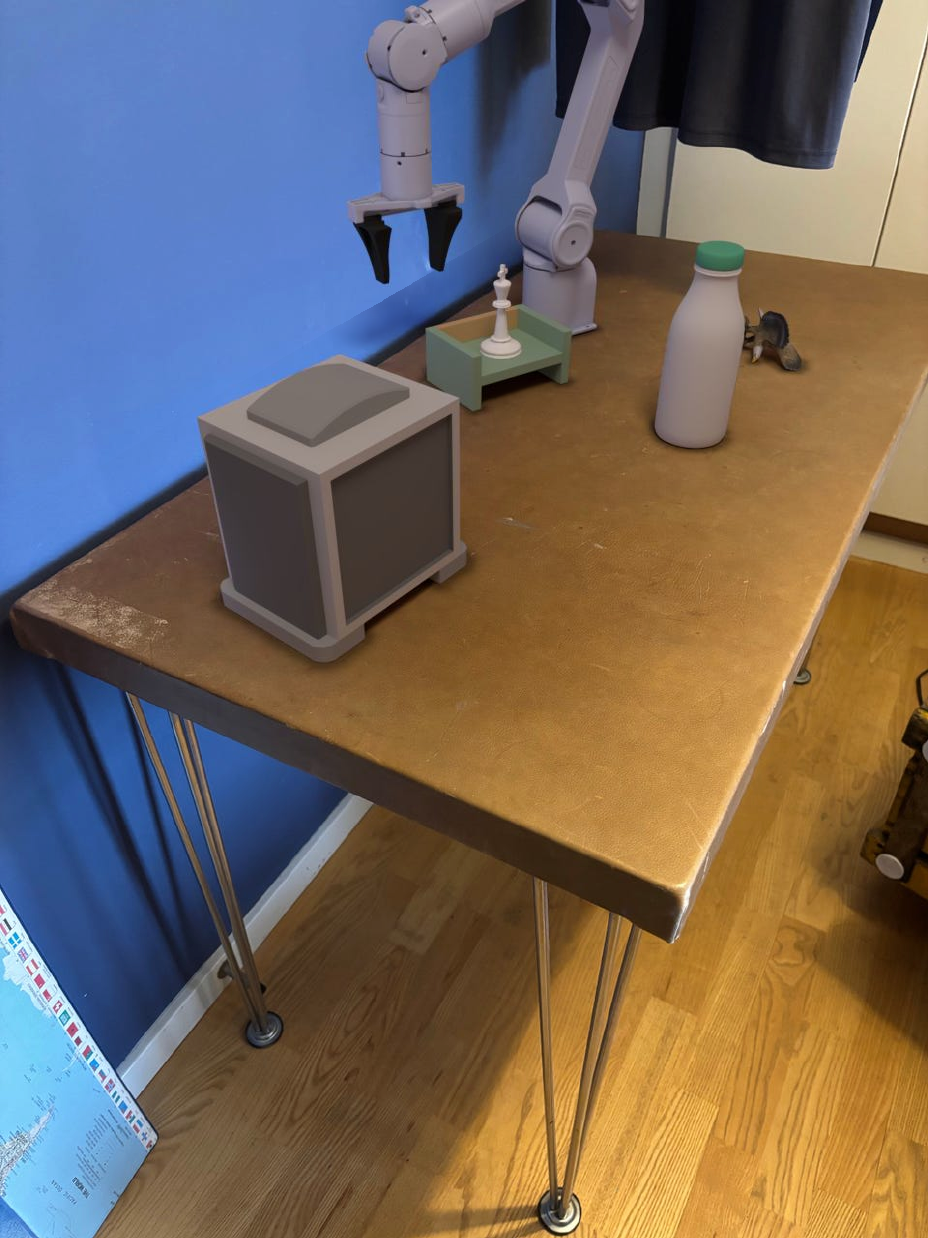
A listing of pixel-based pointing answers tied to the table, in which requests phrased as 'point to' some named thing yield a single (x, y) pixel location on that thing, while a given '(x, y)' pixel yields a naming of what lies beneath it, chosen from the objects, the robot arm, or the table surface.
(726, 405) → the milk bottle
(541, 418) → the table surface
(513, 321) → the shelf
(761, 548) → the table surface
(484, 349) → the chess piece
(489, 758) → the table surface
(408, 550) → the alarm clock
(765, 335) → the brown toy animal
